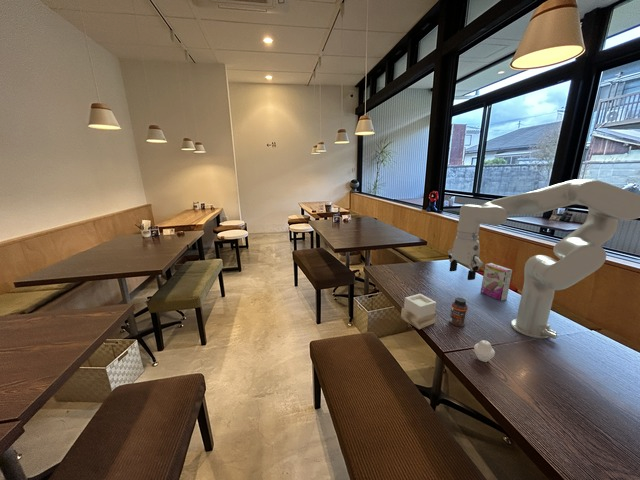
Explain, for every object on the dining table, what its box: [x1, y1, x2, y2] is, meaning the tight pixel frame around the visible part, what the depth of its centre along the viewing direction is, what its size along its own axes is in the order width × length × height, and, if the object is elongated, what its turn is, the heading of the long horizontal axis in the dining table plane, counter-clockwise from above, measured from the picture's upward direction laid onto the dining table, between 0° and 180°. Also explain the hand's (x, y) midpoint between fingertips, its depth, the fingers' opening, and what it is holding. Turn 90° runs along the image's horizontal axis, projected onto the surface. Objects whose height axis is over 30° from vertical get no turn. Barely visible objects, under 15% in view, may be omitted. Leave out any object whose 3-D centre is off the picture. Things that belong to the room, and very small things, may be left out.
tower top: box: [403, 293, 437, 318], centre depth 111 cm, size 9×9×5 cm
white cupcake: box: [473, 339, 496, 363], centre depth 89 cm, size 6×6×7 cm
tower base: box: [400, 307, 437, 330], centre depth 113 cm, size 10×10×5 cm
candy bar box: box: [480, 262, 513, 302], centre depth 132 cm, size 11×5×16 cm, turn 22°
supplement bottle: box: [449, 297, 468, 327], centre depth 109 cm, size 6×6×11 cm
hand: (461, 275), depth 108 cm, fingers open, 9 cm apart
